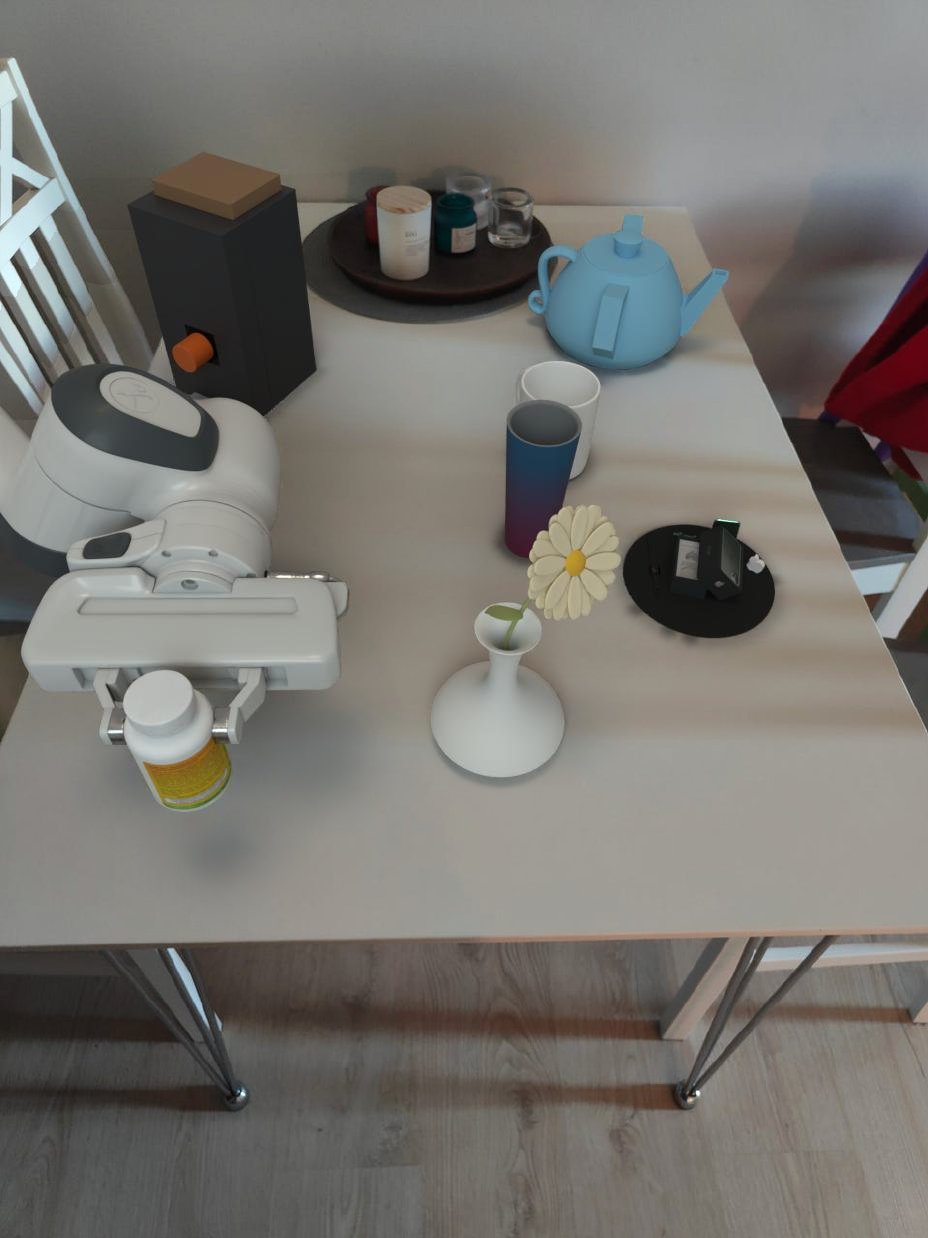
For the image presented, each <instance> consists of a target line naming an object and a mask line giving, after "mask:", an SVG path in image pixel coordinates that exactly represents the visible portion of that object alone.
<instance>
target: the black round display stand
mask: <svg viewBox="0 0 928 1238" xmlns="http://www.w3.org/2000/svg"><path fill="white" fill-rule="evenodd" d="M741 525H742V523H741V522H740V520H732V519H724V518H723V519H722V518H715V519H714V520H713V523H712V527H709V526H704V525H698V524H672V525H665V526H661V527H658V528H654V529H652V530H650V531H648V532H646V533H644V534H643V535H641V536H640V537H638V538H637V539H636V540H635V541H634V542H633V543H632V544H631V546H630V547H629V548H628V550H627V552H626V554H625V558H624V561H623V565H622V576H623V582H624V586H625V589H626V590H627V592H628V594H629V596H630V597H631V599H632V600H633V602H634V603H635V604H636V606H637V607H638V608H639V609H640V610H641V611H642V612H643V613H645V614H646V615H647V616H648V617H649V618H651V619H652V620H654V621H655V622H657V623H658V624H659V625H662V626H663V627H666V628H668V629H670V630H672V631H675V632H677V633H680V634H684V635H687V636H692V637H695V638H706V639H724V638H730V637H735V636H739V635H742V634H744V633H747V632H749V631H751V630H753V629H754V628H756V627H757V626H759V625H760V624H761V623H762V622H763V621H765V619H766V618H767V616H768V615H769V613H770V612H771V610H772V608H773V605H774V602H775V598H776V587H775V581H774V577H773V575H772V573H771V571H770V569H769V566H768V565H767V564H766V562H765V561H764V560H763V559H762V557H761V556H760V555H759V554H758V553H757V552H756V551H755V550H754V549H753V548H752V547H750V546H749V545H748V544H747V543H745V542H744V541H742V540H740V539H738V538H737V537H738V535H739V532H740V528H741Z"/></svg>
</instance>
